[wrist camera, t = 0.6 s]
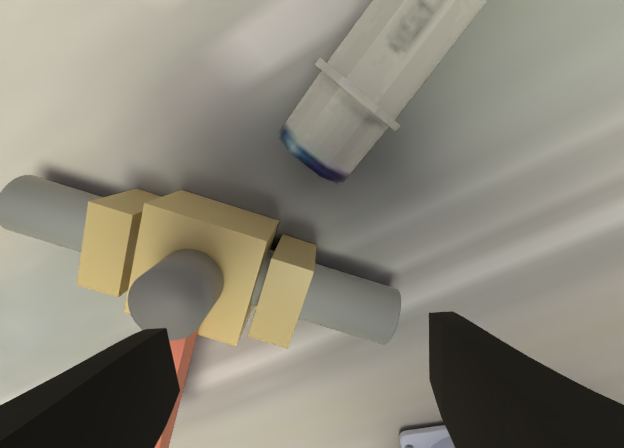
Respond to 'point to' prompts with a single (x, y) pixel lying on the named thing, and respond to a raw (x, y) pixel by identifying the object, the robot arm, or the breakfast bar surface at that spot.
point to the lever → (176, 308)
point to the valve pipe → (212, 241)
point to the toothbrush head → (371, 80)
